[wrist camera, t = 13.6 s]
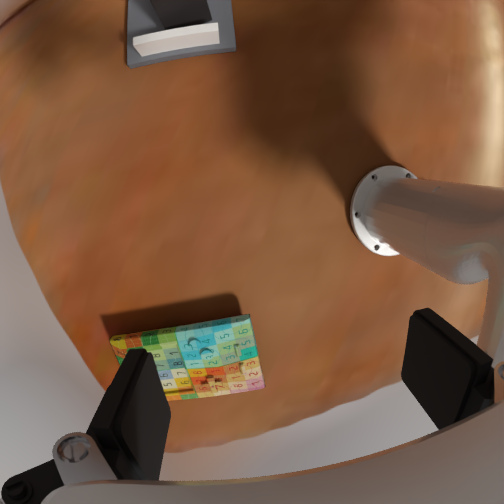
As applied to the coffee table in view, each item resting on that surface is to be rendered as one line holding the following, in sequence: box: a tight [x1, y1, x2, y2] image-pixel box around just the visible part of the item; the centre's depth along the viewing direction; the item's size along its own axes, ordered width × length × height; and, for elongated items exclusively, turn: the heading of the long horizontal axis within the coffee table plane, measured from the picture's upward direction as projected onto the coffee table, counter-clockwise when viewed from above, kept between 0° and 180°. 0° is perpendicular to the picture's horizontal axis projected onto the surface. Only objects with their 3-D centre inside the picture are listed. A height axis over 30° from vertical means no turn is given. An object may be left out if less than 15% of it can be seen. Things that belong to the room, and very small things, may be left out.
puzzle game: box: [109, 314, 265, 401], centre depth 42 cm, size 12×5×20 cm
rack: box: [127, 0, 236, 69], centre depth 29 cm, size 14×16×6 cm
